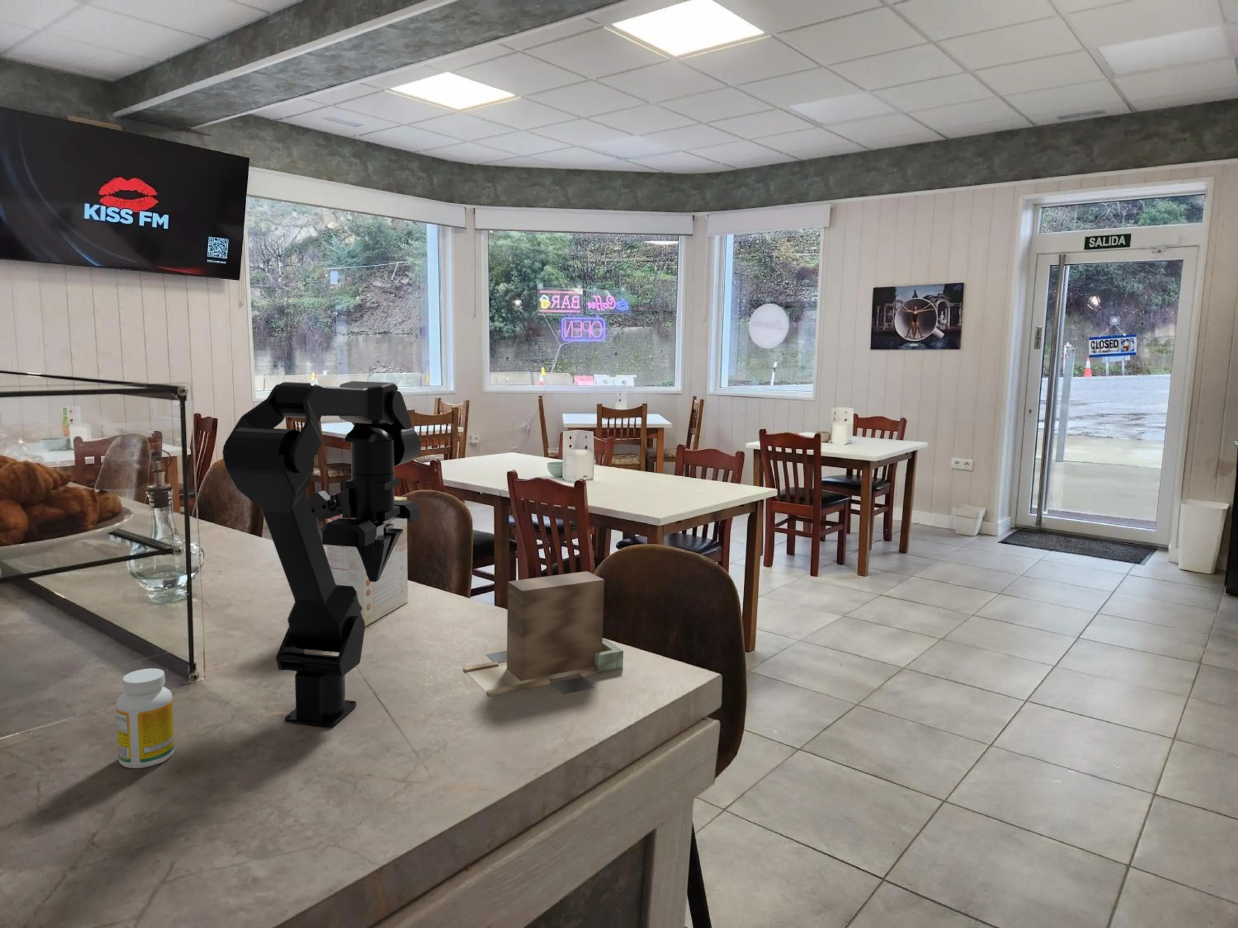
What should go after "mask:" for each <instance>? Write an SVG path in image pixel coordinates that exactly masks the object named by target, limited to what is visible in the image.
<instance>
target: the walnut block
mask: <svg viewBox="0 0 1238 928" xmlns="http://www.w3.org/2000/svg"><path fill="white" fill-rule="evenodd" d="M604 597H605V579H604V578H603V577H600V576H597V575H596V574H594V573H591V572H590V571H587V570H585V571H580V572H579V571H578V572H571V573H563V574H556V575H548V576H541V577H532V578H524V579H517V580H511V581H507V609H506V610H507V611H506V616H507V617H506V618H507V621H506V626H507V627H506V628H507V629H506V634H507V635H506V651H507V662H506V665H507V669H508V670H509V671H510V672H511V673H512V674H514V675H515V676H516V677H517V678H518V679H519V680H520V681H523V680H529V679H534V678H539V677H544V676H549V675H554V674H559V673H564V672H569V671H574V670H579V669H584V668H589V667H594V666H595V653H599V652H602V639H603V638H604V637H603V634H604V633H603V631H604V629H603V628H604V605H605V604H604V603H605V602H604V601H605V598H604Z"/></svg>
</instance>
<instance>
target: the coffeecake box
mask: <svg viewBox="0 0 1238 928" xmlns="http://www.w3.org/2000/svg"><path fill="white" fill-rule="evenodd" d="M394 500H404V501H408V497H405V496H397V495H394ZM339 518H342V514H341V515H338V516H335V517H332V518H330V519H325V525H326V524H327V523H329V522H331V521H334V520H336V519H339ZM345 519H349V518H345ZM350 519H355V518H350ZM391 524H394V528H395V529H403V533H401V535H400V536H399V538H398V540H397V542H396V544H395V546H394V548H393V551H392V553H391V555H390V557H389V559H388V561H387V563H386V566H385V568H384V570H383V572H382V574H381V577H380V579H379V580H378V581H377V582H370V581H369V579H368V576H367V573H366V570H365V568H364V565H363V562H362V559H361V556H360V554H359V552H358V550H357V548H356V547H349V546H336V545H326V556H327V559H328V562H329V565H330V569H331V572H332V575H333V578H334V581H335V584H336V585H344V586H353V587H354V589H355V590H356V592H357V597H358V602H359V604H360V606H361V607H362V611H360V612H361V614H362V618H363V619H364V622H365V628H366V627H367V626H369V625H371V624H372V623H374V622H376V621H377V620H379V619H381V618H383V617H384V616H386V615H388V614H389V613H391V612H392V611H394V610H396V609H399V608H400V607H401V606H403V605H405V604H407V603H408V602H409V595H408V594H409V590H408V589H409V587H408V586H409V584H408V580H409V578H408V576H409V575H408V520H407V519H401V518H396V519H394V520H392V521H391Z"/></svg>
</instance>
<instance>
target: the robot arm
mask: <svg viewBox="0 0 1238 928" xmlns="http://www.w3.org/2000/svg"><path fill="white" fill-rule="evenodd" d="M322 417H338V418H339V419H340V420H343V421H345V422H348V423H351V424H352V425H353V427H352V429H351V430H350V431H349V432H348V433H346V435H345V437H344V442H345V443H350V458H351V459H350V463H351V464H350V466H351V469H350V470H351V472H350V474H351V475H350V477H351V478H350V479H348V480H347V479H346V480H345V482H343V485H342V487H343V491H340V492H339V491H338V492H337V493H333V494H330V495H329V494H328V493H327V491H326V490H321V491H318V492H314V493H313V494H309V495H308V494H307V489H308V486H309V484H310V481H311V479H312V477H313V474H314V471H315V468H314V458H315V457H316V455H317V453H318V452H319V449H320V447H321V446H322V443H323V438H322V433H321V428H320V423H319V422H320V420H321V418H322ZM285 418H299V419H300V418H301V419H306V420H305V422H304V424H303V426H302V428H301V429H300V431H299V430H297V429H294V428H293V429H291V428H290V429H289V428H276V427H277V426H279V425H281V423H282V422H283V421H284V420H285ZM421 447H422V441H421V439H420V436H419V434H418V432H417V431H416V430H415V429H413V424H412V420H411V418H410V415H409V412H408V409H407V405H406V403H405V400H404V397H403V394H402V393H401V391H399V387H398V385H397V384H396V383H394V382H385V381H384V382H382V381H359V380H357V381H355V380H353V381H352V380H351V381H347V382H344V383H341V384H339V386H329V385H318V384H316V383H314V382H296V381H295V382H293V381H285V382H284V381H283V382H281V383H278V384H275V386H274V387H273V388H272V390H271V391H270V393H269V394H268V396H267V398H266V399H264V400H262V401H261V402H260V403H258V404H257V405H256V406H253V407H252V408H251V409H250V410H248V411H247V412H246V413H244V414H243V415H242V416H241V417H240V418H239V420H238V421H237V423H236V425H235V426H234V427H233V429H232V431H231V432H230V434H229V436H228V437H227V439H226V441H225V442H224V445H223V447H222V460H223V463H224V467H225V469H226V471H227V473H228V476H229V477H230V479H231V480H232V481H233V483H234V485H235V487H236V489H237V490H238V491H239V492H240V493H241V494H242V495H244V496H245V497H246V498H247V499H249V500H250V501H251V502H252V503H254V504H255V505H256V506H258V507H259V508H260V510H261V512H262V515H263V519H264V521H265V522H266V523H265V524H266V526H267V528H268V532H269V534H270V537H271V540H272V542H273V545H274V547H275V550H276V553H277V556H278V559H279V562H280V564H281V566H282V570H283V572H284V574H285V577H286V580H287V583H288V586H289V589H290V591H291V594H292V597H293V600H294V603H293V605H292V608H291V609H290V613H289V615H288V617H287V623H288V627H287V630H286V632H285V634H284V637H283V639H282V642H281V644H280V647H279V649H278V651H277V654H276V656H275V659H276V663H277V666H278V670H279V671H283V672H285V671H291V672H295V673H294V685H295V686H294V690H295V692H294V693H295V695H294V697H295V698H294V699H295V708H294V709H293V710H292V711H290V712H289V713H288V714H286V715H285V716H284V717H283V718H284V723H293V724H304V725H313V726H321V727H333V726H335V725H336V724H338V723H339V721H341V720H342V719H343V718H344V717H346V715H347V714H349V712H351V711H352V710H353V709H354V708H355V707H357V701H356V700H347V699H346V675H347V674H348V673H349V672H350V671H352V670H353V669H355V668H356V667H357V666H358V665H359V664H360V663H361V658H362V650H363V645H364V639H365V632H366V631H365V629H366V627H365V622H364V619H363V618H362V614H361V612H360V611H362V607H361V606H360V604H359V602H358V597H357V592H356V590H355V589H354V587H353V586H344V585H336V584H335V581H334V578H333V575H332V572H331V569H330V565H329V562H328V559H327V552H326V551H325V546H327V545H336V546H349V547H356V548H357V550H358V552H359V554H360V556H361V559H362V562H363V565H364V568H365V570H366V573H367V576H368V579H369V581H370V582H377V581H378V580H379V579H380V577H381V574H382V572H383V570H384V568H385V566H386V563H387V561H388V559H389V557H390V555H391V553H392V551H393V548H394V546H395V544H396V542H397V540H398V538H399V536H400V535H401V533H403V529H395V528H394V524H391V521H392V520H394V519H396V518H401V519H407V523H409V524H412V523H415V522H416V521H419V520H420V506H419V505H418V503H417V504H416V502H415V501H414V500H407V501H404V500H394V496H395V487H398V486H400V481H401V480H400V477H395V467H397V466H400V465H403V464H407V463H409V462H412V461H413V460H415V459H417V457H418V455H420V452H421V450H422V448H421ZM341 514H342V518H339V519H336V520H334V521H331V522H329V523H327V524H326V523H325V524H324V525H323V526H322V527H321V528H320V532H319V528H318V526H317V524H320V523H323V522H326V519H330V518H332V517H335V516H338V515H341ZM345 518H349V519H345ZM350 518H355V519H350ZM316 522H317V523H316ZM305 650H307V651H319V652H328V653H329V652H330V653H338V655H331V654H319V653H311V652H309V653H308V652H305Z"/></svg>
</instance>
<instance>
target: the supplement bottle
mask: <svg viewBox="0 0 1238 928" xmlns="http://www.w3.org/2000/svg"><path fill="white" fill-rule="evenodd" d="M165 683H166V676H165V671H164V670H163V669H160V668H143V669H142V668H141V669H138V670H133V671H131V672H129V673H126V674H125V675H124V676H123V677H122V691H123V693H122V694H121V695H120V696H119V697H118V698H117V700H116V704H115V713H116V714H115V715H116V734H117V755H118V761H119V764H120V765H122V766H123V768H124V767H125V768H128V769H144V768H148V767H153V766H156V765H159V764H162V763H164V762H165V761H168V759H169V758H171V757H172V756H173V754H174V752H175V732H174V731H175V730H174V710H173V708H174V707H173V694H172V692H171V690H170V689H168V688H167V687H165Z"/></svg>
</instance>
